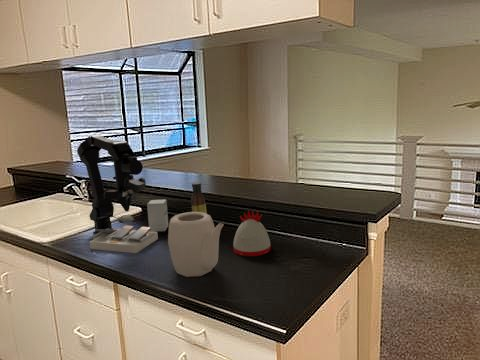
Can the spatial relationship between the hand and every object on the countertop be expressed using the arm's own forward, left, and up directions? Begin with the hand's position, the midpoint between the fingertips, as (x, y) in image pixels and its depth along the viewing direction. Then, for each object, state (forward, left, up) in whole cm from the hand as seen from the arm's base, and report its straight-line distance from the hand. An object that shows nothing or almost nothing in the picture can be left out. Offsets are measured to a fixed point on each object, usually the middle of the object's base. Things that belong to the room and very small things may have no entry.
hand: (127, 211), depth 163 cm
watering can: (+40, -20, -13) cm, 47 cm away
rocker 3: (+8, -3, -8) cm, 12 cm away
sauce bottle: (+21, +24, -13) cm, 34 cm away
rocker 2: (0, -3, -8) cm, 9 cm away
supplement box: (+4, +17, -13) cm, 22 cm away
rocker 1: (-8, -3, -8) cm, 12 cm away
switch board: (0, -3, -13) cm, 13 cm away
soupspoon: (-26, +28, -13) cm, 41 cm away
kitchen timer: (+52, +3, -13) cm, 53 cm away
